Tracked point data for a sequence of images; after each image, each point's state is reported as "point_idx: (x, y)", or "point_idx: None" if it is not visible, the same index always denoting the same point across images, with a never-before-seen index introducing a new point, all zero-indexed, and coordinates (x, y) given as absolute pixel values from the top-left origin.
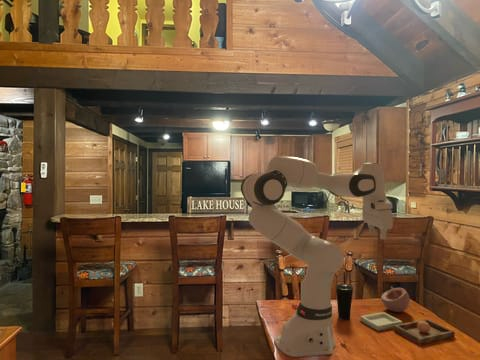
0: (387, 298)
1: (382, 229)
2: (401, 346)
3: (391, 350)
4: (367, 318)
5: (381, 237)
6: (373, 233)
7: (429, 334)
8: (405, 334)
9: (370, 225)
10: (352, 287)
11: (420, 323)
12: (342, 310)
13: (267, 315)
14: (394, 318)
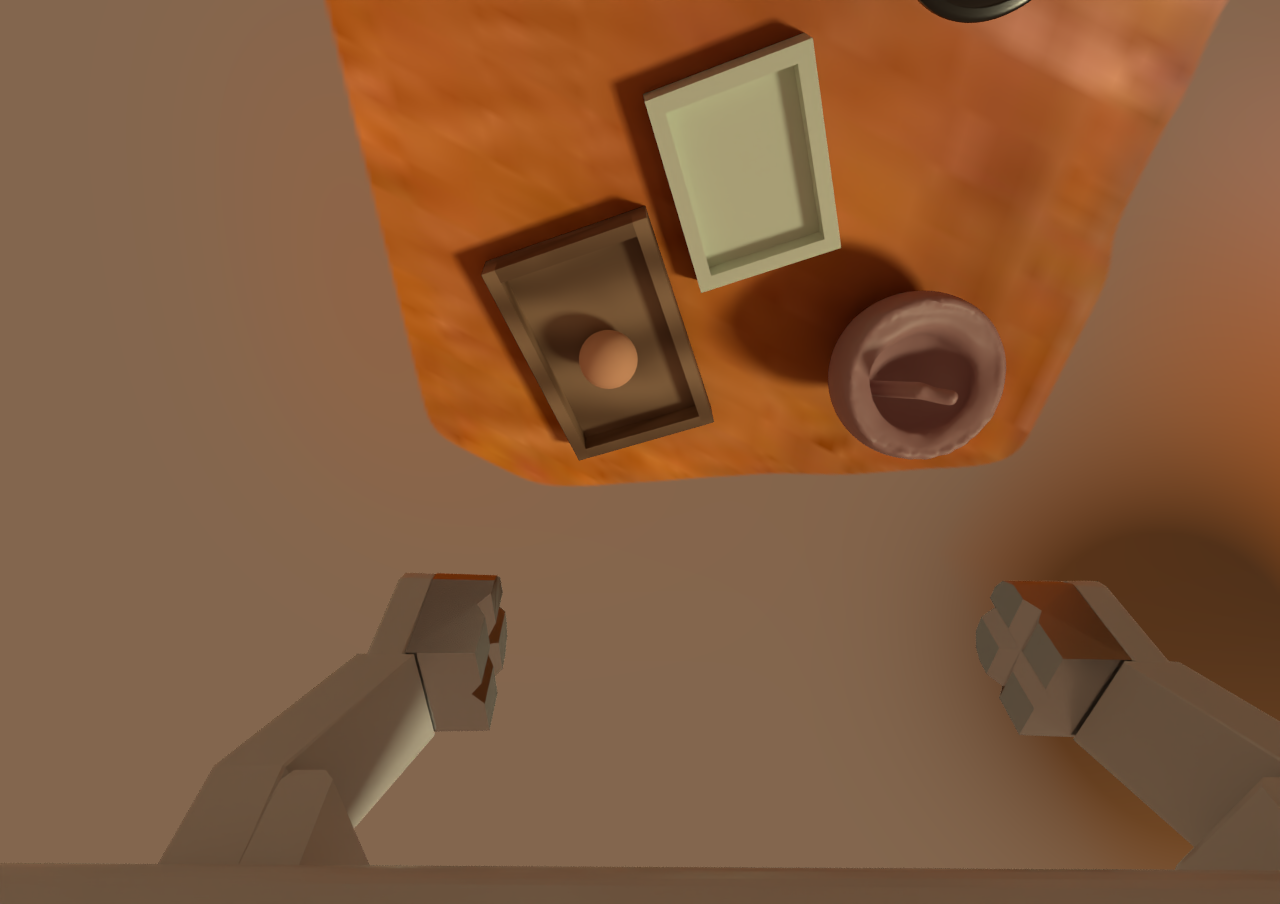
0: (939, 335)
1: (190, 849)
2: (457, 153)
3: (396, 63)
4: (800, 95)
5: (390, 601)
6: (1002, 625)
7: None
8: (567, 238)
9: (1233, 810)
10: (948, 5)
11: (602, 352)
12: None
13: None
14: (743, 267)
